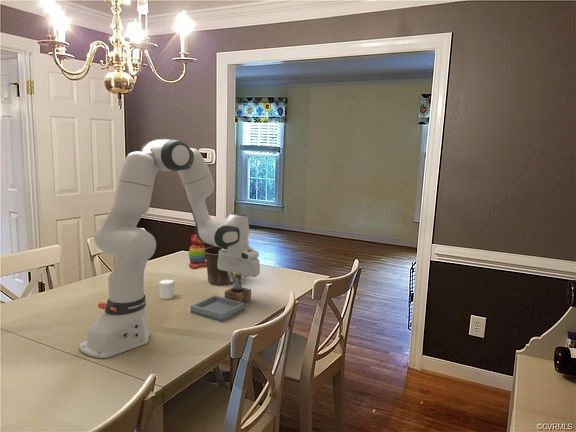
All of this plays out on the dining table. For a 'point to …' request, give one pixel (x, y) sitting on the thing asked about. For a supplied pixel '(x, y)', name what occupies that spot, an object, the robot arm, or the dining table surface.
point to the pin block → (239, 295)
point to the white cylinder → (166, 288)
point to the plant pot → (215, 267)
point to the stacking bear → (196, 254)
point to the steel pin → (237, 282)
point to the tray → (217, 308)
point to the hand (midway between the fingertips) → (237, 282)
